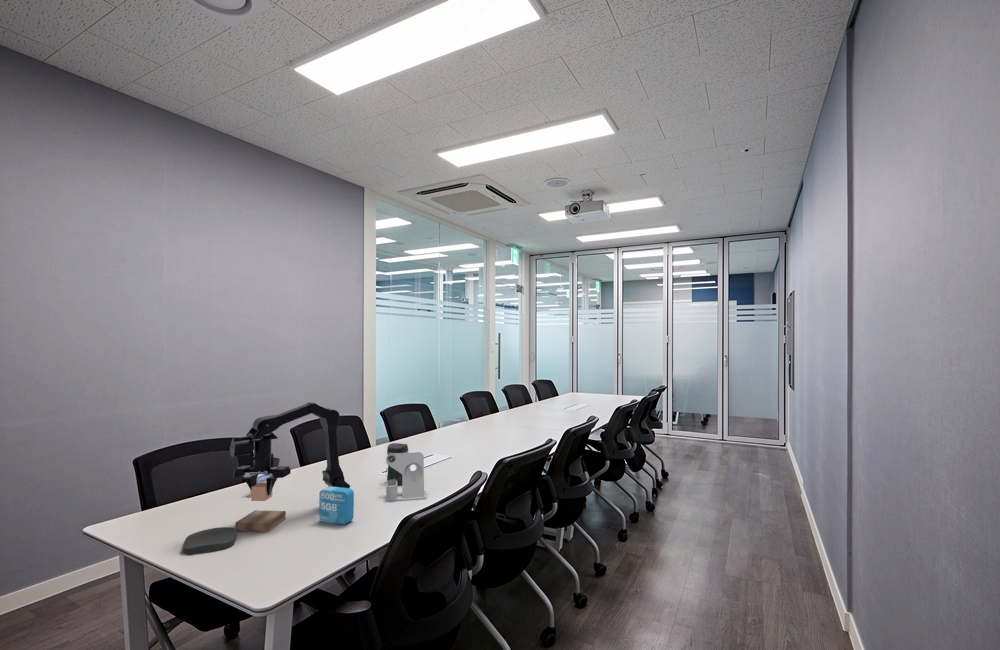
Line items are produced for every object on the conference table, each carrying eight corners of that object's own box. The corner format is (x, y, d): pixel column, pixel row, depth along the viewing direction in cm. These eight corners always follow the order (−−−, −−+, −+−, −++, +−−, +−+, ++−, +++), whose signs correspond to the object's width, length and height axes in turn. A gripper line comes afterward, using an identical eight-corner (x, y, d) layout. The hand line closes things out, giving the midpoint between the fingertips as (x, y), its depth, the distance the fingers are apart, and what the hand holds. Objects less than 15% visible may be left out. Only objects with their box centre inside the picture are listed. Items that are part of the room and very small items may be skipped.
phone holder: (385, 502, 196) (385, 458, 197) (385, 494, 206) (386, 453, 207) (427, 499, 200) (427, 456, 200) (425, 491, 210) (426, 451, 210)
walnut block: (285, 519, 177) (285, 511, 177) (268, 531, 165) (268, 523, 165) (254, 518, 178) (254, 510, 178) (235, 531, 166) (235, 522, 166)
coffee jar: (410, 481, 225) (410, 442, 226) (403, 486, 217) (403, 445, 218) (392, 479, 227) (392, 441, 228) (384, 484, 220) (384, 444, 220)
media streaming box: (179, 557, 146) (180, 548, 146) (189, 539, 160) (189, 530, 160) (233, 549, 152) (233, 540, 152) (238, 532, 166) (238, 524, 166)
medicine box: (258, 497, 202) (259, 476, 202) (249, 496, 203) (250, 476, 203) (271, 491, 210) (271, 471, 210) (262, 490, 211) (262, 471, 211)
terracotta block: (272, 496, 174) (272, 482, 174) (264, 501, 169) (264, 487, 169) (259, 496, 174) (259, 482, 175) (251, 500, 169) (251, 486, 170)
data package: (318, 521, 175) (319, 489, 175) (326, 517, 179) (326, 485, 179) (346, 525, 171) (347, 492, 172) (353, 520, 176) (354, 488, 176)
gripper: (298, 447, 180) (297, 488, 179) (250, 447, 181) (250, 487, 180) (283, 454, 169) (282, 498, 168) (232, 454, 170) (232, 497, 169)
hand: (261, 495), depth 172 cm, fingers closed on terracotta block, 5 cm apart
